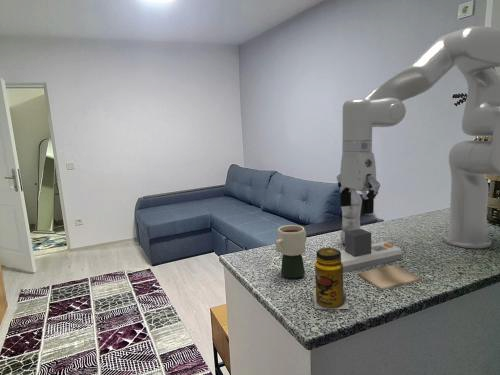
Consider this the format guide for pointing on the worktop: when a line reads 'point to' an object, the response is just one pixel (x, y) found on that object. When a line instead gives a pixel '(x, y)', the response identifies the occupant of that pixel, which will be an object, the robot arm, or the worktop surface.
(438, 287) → the worktop surface
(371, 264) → the power strip
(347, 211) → the plastic bottle
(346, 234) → the block
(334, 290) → the condiment
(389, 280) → the cork pad
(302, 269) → the character mug
